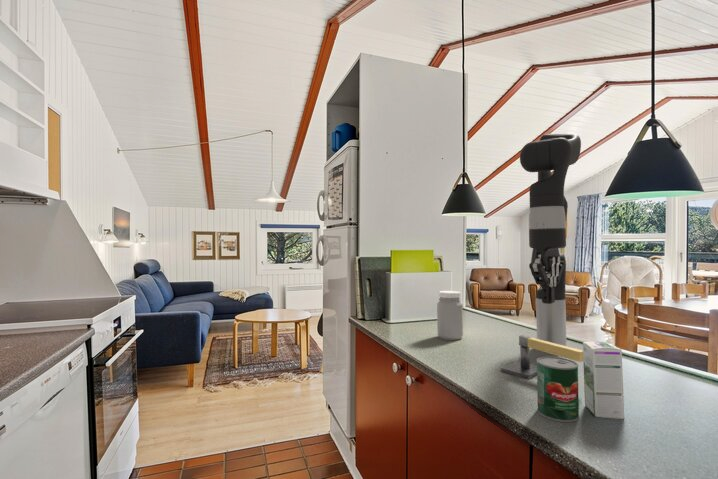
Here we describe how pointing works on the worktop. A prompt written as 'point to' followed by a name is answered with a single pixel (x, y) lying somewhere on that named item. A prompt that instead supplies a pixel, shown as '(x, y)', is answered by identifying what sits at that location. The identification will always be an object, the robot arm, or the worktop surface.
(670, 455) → the worktop surface
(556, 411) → the canned tomato
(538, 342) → the bar
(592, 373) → the syrup box
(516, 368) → the post
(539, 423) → the worktop surface
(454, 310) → the jar
